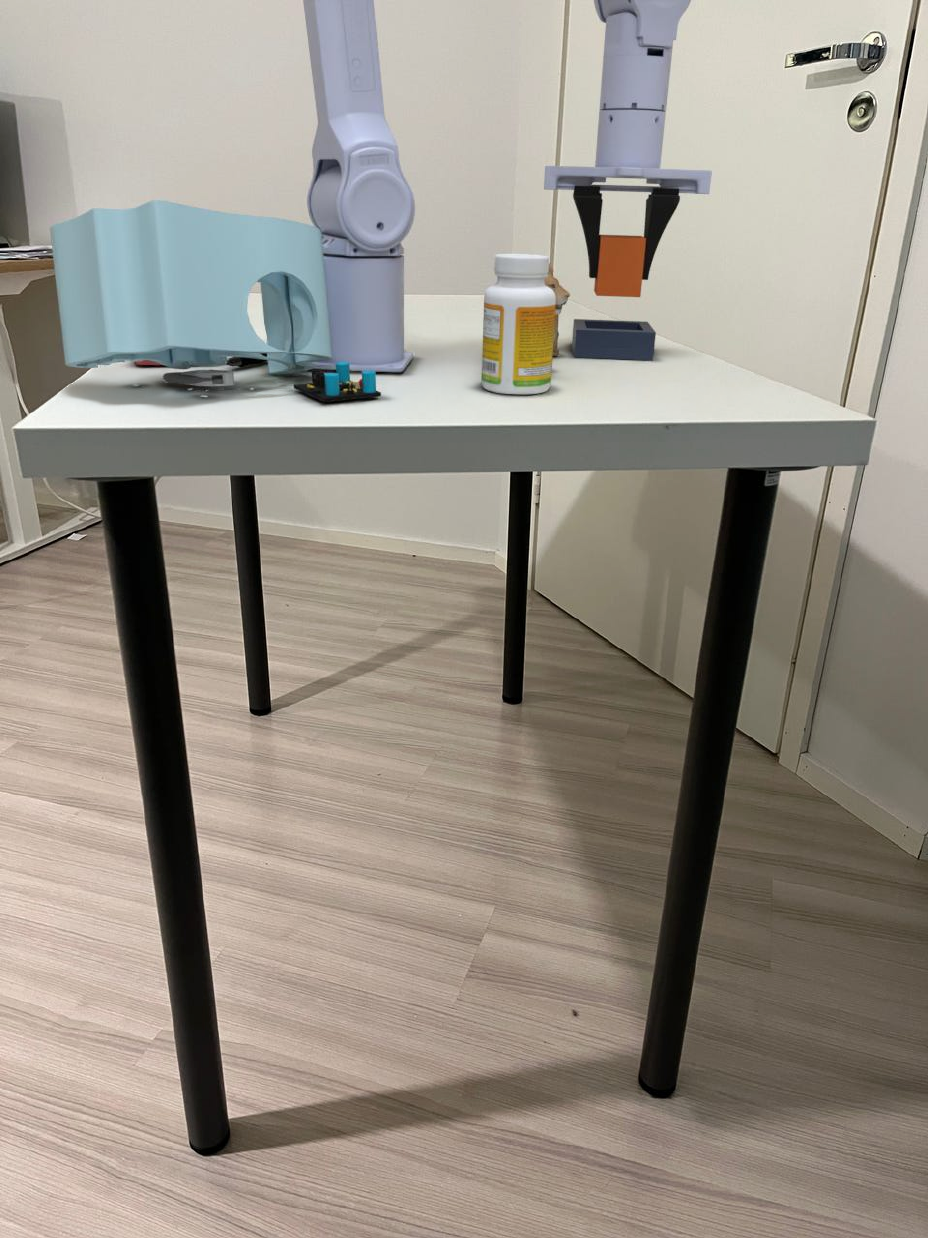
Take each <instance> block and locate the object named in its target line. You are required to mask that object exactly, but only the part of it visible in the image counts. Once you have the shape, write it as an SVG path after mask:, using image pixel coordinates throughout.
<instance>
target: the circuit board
mask: <svg viewBox="0 0 928 1238" xmlns="http://www.w3.org/2000/svg"><path fill="white" fill-rule="evenodd" d="M350 371H351V370H349V362H337V363H336V370H335V372H326V373H325V372H324V371H323V372H322V371H321V369H311V382H306V383H297V384H293V389H295V390H297V391H299V392H300V393H303V394H305V395H308V396H310V397H311V398H314V399H317V400H318V401H320V402H323V403H328V402H329V403H330V402H337V401H338V402H340V401H346V400H347V401H348V400H357V399H358V400H360V399H368V398H378V397H382V392H380V391H378V390H377V375H376V372H377V371H370V370H368V371H361V378H360V379H359V380H358V381H353V380H351V374H350Z"/></svg>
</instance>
